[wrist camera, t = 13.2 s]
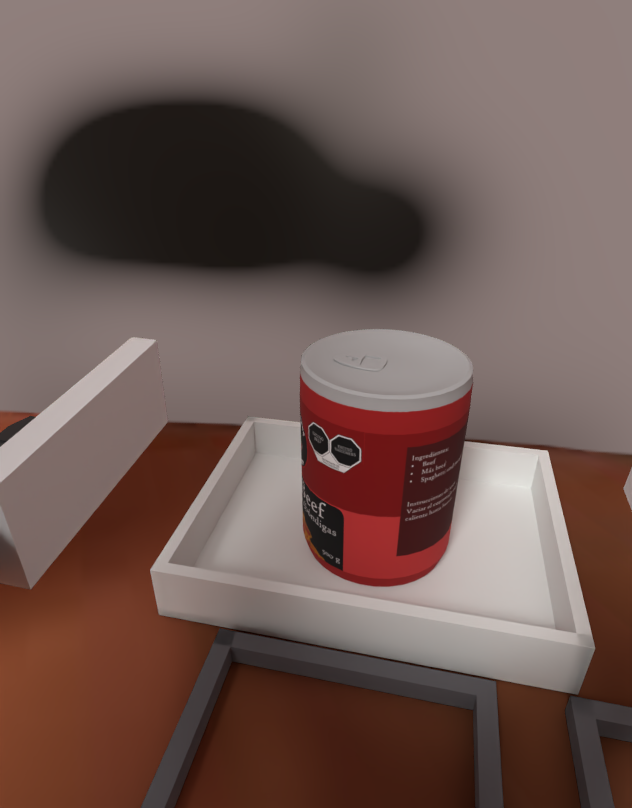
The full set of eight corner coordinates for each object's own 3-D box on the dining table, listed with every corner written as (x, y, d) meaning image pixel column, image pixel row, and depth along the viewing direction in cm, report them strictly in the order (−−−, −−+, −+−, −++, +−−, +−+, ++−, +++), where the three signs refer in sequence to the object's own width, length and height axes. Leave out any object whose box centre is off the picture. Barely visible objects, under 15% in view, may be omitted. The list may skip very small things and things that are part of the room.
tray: (159, 614, 28) (150, 570, 26) (250, 453, 40) (248, 416, 38) (578, 694, 24) (595, 648, 22) (538, 490, 36) (547, 450, 34)
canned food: (306, 493, 35) (303, 326, 29) (436, 496, 35) (458, 328, 29) (297, 590, 28) (293, 396, 23) (459, 594, 28) (493, 399, 23)
